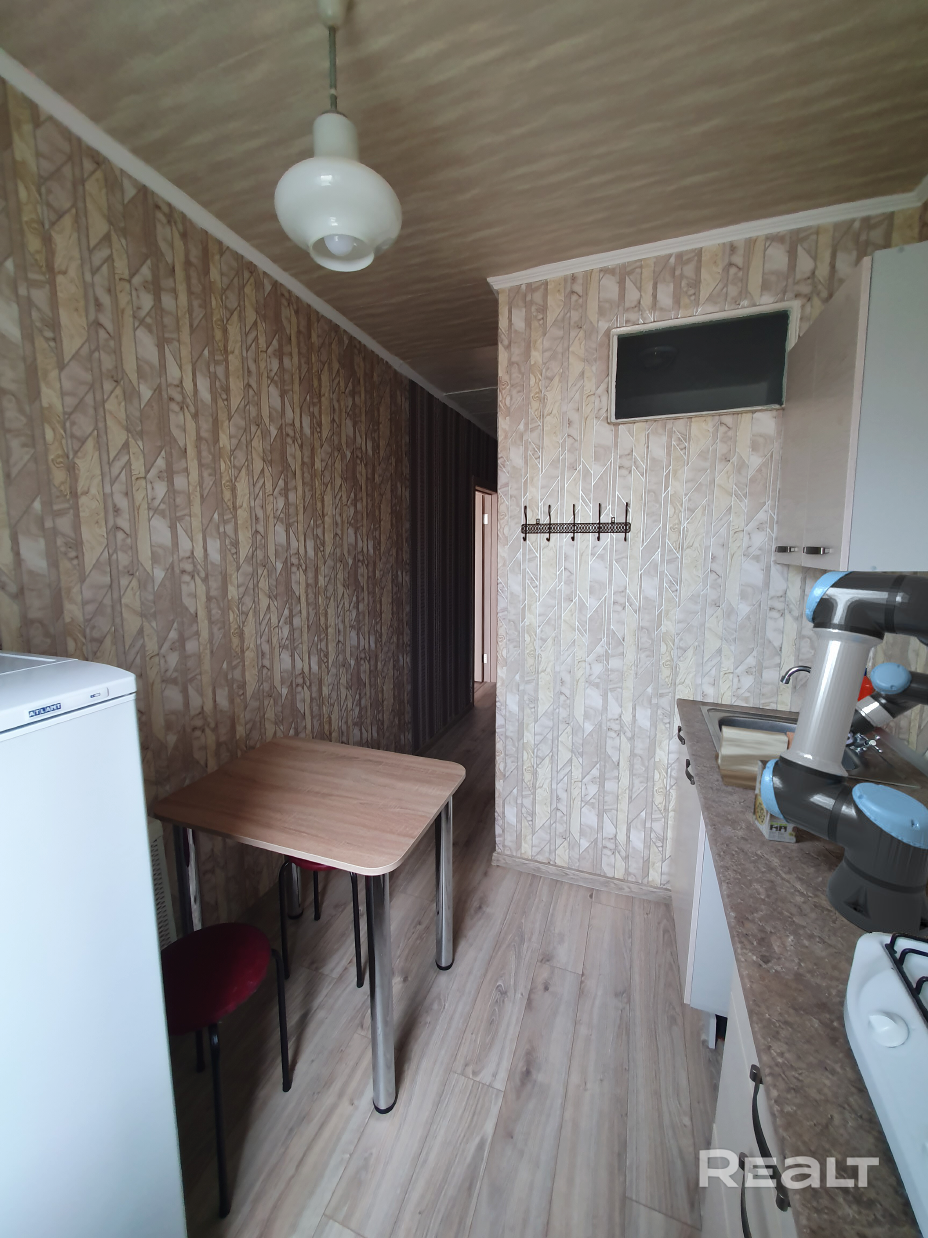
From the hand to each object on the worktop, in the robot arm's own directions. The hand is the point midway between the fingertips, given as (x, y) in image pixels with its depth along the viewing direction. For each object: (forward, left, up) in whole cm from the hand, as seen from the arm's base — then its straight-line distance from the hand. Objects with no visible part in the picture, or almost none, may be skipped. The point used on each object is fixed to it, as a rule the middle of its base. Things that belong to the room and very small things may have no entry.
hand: (786, 763), depth 136 cm
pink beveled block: (0, -4, -3) cm, 5 cm away
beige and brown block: (0, +4, -5) cm, 6 cm away
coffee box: (-28, +9, -5) cm, 30 cm away
